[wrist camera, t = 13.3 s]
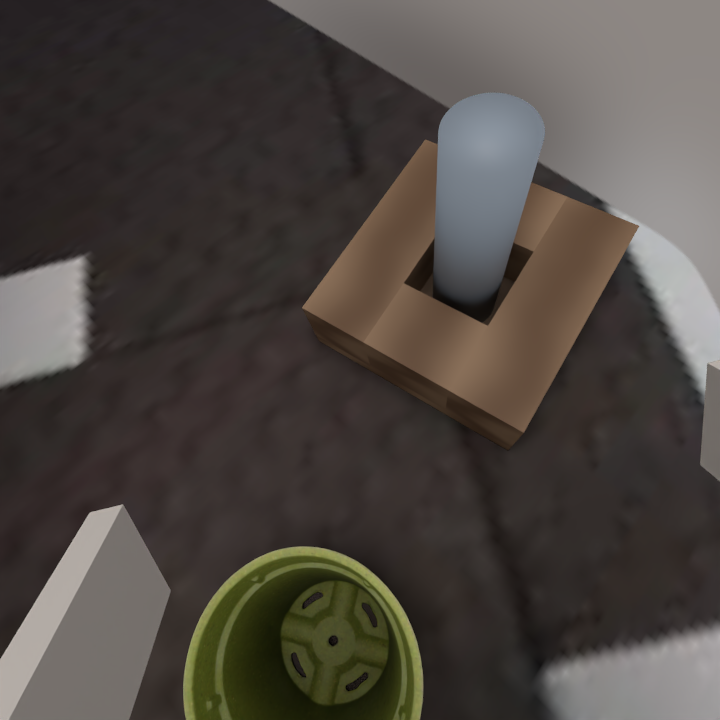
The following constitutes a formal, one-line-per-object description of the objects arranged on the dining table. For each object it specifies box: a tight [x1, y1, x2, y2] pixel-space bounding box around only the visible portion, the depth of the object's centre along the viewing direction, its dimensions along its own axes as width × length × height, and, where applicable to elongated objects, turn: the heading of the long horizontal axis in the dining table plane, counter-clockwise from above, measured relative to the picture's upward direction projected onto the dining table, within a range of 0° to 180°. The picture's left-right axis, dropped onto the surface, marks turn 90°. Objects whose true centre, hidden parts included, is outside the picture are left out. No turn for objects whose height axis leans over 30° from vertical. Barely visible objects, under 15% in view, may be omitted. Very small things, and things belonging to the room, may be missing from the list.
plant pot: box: [183, 546, 423, 720], centre depth 23 cm, size 9×9×9 cm
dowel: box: [432, 93, 545, 323], centre depth 26 cm, size 4×4×14 cm
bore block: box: [302, 140, 639, 450], centre depth 31 cm, size 14×14×5 cm
